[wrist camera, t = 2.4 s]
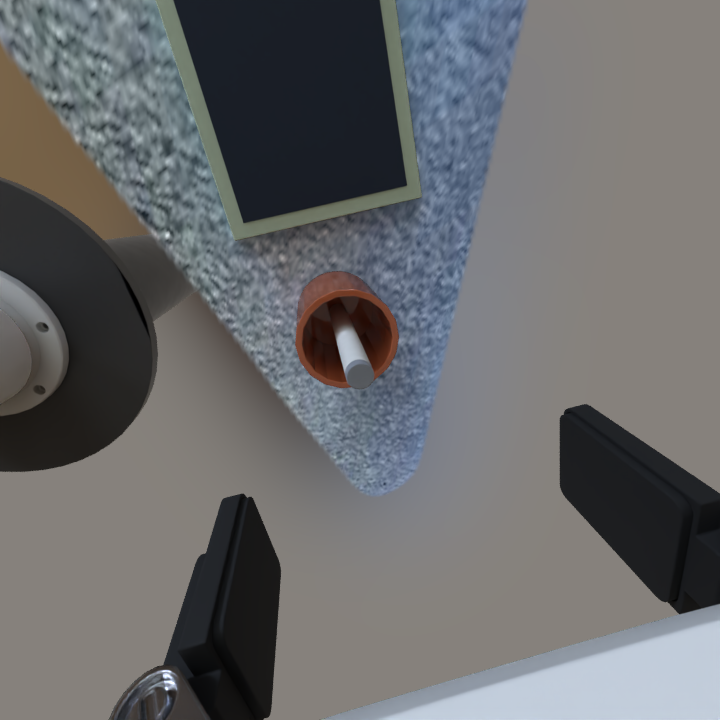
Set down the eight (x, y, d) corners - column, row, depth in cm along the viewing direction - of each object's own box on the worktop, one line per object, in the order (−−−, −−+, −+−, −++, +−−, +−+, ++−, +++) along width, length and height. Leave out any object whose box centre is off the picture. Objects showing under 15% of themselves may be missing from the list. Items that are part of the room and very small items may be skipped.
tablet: (236, 240, 28) (234, 241, 27) (128, -92, 21) (119, -108, 20) (418, 198, 28) (422, 197, 27) (372, -137, 21) (375, -154, 20)
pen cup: (309, 355, 32) (311, 399, 24) (288, 281, 29) (282, 303, 22) (382, 337, 32) (405, 374, 25) (367, 262, 29) (388, 278, 22)
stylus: (331, 322, 30) (349, 392, 18) (327, 305, 30) (343, 367, 18) (348, 318, 30) (377, 385, 18) (344, 301, 30) (371, 360, 18)
